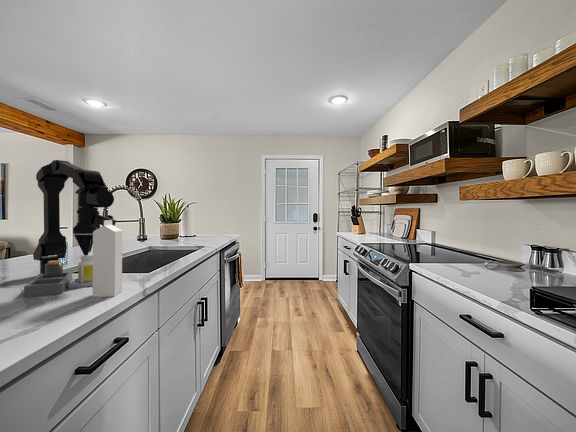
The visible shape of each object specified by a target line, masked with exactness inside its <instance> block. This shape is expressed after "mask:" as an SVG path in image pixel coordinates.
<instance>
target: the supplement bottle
mask: <svg viewBox="0 0 576 432" xmlns="http://www.w3.org/2000/svg"><path fill="white" fill-rule="evenodd" d="M80 260H81V261H79V262H78V264H77V265H78V267H77V270H78V271H77V273H78V275H77V277H78V282H77V283H88V282H93V253H88V255H84V254H81V255H80Z"/></svg>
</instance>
